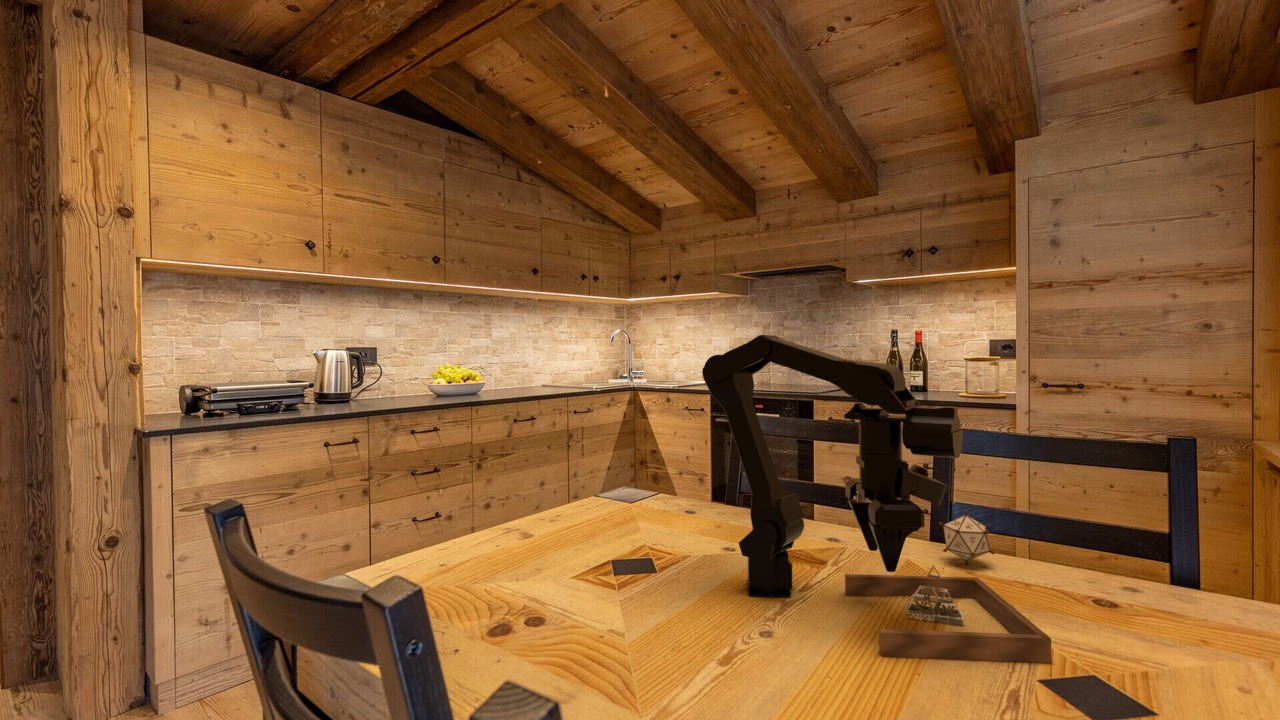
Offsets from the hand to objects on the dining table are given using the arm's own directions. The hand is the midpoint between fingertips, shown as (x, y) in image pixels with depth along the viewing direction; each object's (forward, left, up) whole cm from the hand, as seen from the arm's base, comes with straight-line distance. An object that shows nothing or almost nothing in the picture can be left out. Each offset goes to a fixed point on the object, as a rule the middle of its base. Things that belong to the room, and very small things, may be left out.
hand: (881, 560), depth 90 cm
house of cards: (+9, +3, -9) cm, 13 cm away
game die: (+21, +24, -9) cm, 33 cm away
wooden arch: (+7, -1, -8) cm, 11 cm away
